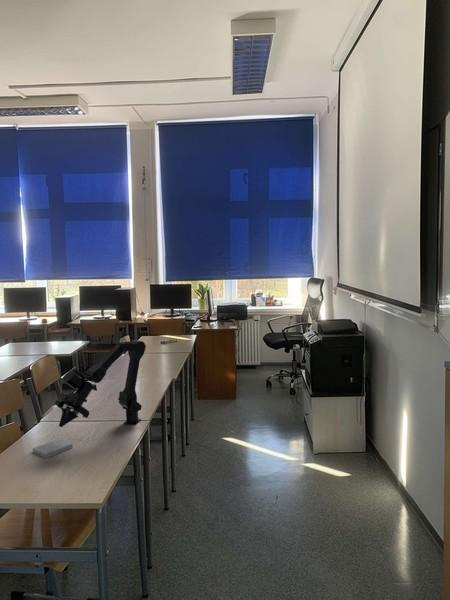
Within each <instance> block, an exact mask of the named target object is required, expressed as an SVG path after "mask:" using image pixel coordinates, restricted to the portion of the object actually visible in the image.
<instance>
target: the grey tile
mask: <svg viewBox="0 0 450 600" xmlns="http://www.w3.org/2000/svg"><path fill="white" fill-rule="evenodd" d="M70 449H73V443H71V442H69V441H66V440H64V439H61V438H56V439H54V440H52V441H48V442H46V443H44V444H40V445H37V446H35V447H32V452H33V453H34V454H37V455H39V456H41V457H42V458H46V459H47V458H49V457H52V456H54V455H57V454H60V453H62V452H65V451H68V450H70Z"/></svg>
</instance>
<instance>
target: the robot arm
mask: <svg viewBox="0 0 450 600" xmlns="http://www.w3.org/2000/svg"><path fill="white" fill-rule="evenodd" d="M146 346H147V345H146V344H145V342H144V341H142V340H138V339H137V340H136V339H132V340H131V341H118V342H117V343H116V344H115V346H114V347H113V348H111V349H110V351H109V352H108V353H107V354H106V355H105V356H104V357H103V358H102V359H101V360H100V361H99V362H98V363H96V364H94V365H92V366H90V368H88V369H87V370H86V371H84V372H82V373H81V372H79V370H77V369H76V368H73V369H71V370H70V371H68V372H67V373H65V375H64V377H63V382H64V383H66V385H68V386H69V387H71V388H72V389H76V390H75V391H73V392H68V393H65V392H59V394H58V396H57V400H55V402H54V403H53V405H55V407H58V408H59V409H60V410H61V417H60V420H59V424H58V427H59V428H63V427H64V426H65V425H67V424H68V423H70V422H72V421H73V420H75V419H77V418H79V414H80V415H82V417H83V419H84V418H85V419H88V418H89V416H90V411H89V410H88V409H87V408H86V407H84V406H83V404H84V403H87V402H88V399H87V398H88V397H89V395H90V394H91V392H92V391H95V392H97V391H98V388H97V384H99V383H100V382H102V381H103V379H104V378H105V376H106V375H107V371H108V369H109V368H110V367H111V366H112V365H113V364H114V363H115V362H116V360H118V358H120V356H121V355H122V354H123V353H125V352H126V351H127V353H128V357H129V361H128V366H127V373H126V379H125V385H124V389H123V390H122V391H121V390H120V391H119V394H118V398H117V400H118V404H119V405H120V406H121V408H122V410H125V420H124V422H123V424H124V425H137V424H138V423H139V422H140V421H142V418H139V411H141V410H142V407H143V405H142V404H140V403H139V402H138V395H137V392H136V387H137V380H138V375H139V368H140V367H139V366H140V362H141V359H142V357H143V356H144V355H145V351H146V348H147V347H146ZM94 383H95V384H94Z"/></svg>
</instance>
